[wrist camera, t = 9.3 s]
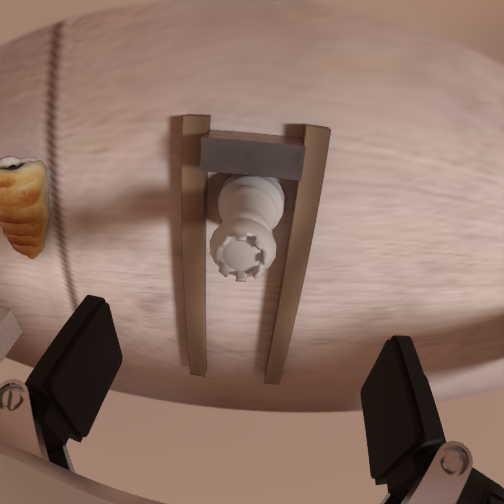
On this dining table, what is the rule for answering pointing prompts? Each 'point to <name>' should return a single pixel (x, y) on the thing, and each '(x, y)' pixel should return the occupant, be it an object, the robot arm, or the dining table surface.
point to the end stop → (252, 154)
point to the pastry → (24, 204)
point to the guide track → (295, 254)
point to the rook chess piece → (247, 225)
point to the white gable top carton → (8, 331)
